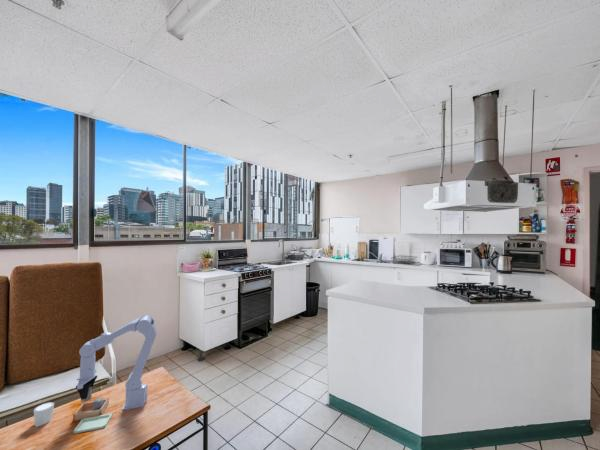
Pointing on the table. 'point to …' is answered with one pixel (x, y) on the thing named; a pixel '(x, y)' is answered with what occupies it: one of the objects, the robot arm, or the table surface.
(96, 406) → the pebble
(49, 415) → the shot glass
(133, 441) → the table surface
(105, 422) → the parts tray
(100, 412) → the dish
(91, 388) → the pebble
